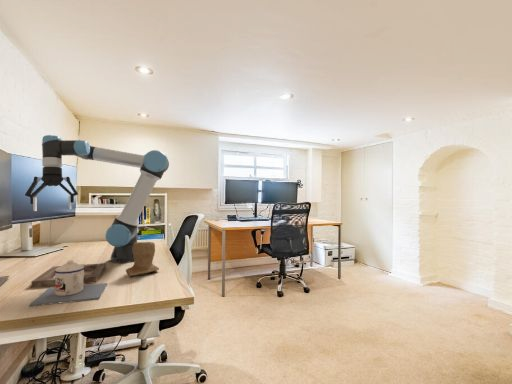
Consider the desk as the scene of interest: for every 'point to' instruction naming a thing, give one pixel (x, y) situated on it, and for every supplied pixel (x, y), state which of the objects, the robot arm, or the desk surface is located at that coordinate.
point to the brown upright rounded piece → (142, 258)
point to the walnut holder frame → (47, 276)
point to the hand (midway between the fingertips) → (53, 210)
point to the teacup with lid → (69, 279)
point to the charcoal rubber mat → (86, 294)
